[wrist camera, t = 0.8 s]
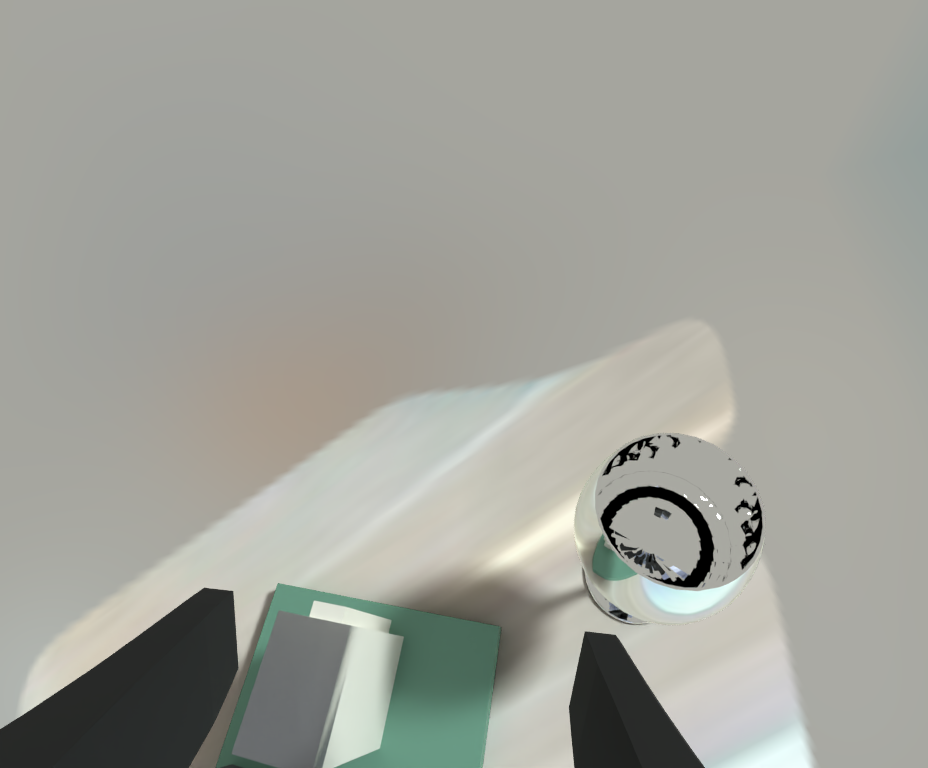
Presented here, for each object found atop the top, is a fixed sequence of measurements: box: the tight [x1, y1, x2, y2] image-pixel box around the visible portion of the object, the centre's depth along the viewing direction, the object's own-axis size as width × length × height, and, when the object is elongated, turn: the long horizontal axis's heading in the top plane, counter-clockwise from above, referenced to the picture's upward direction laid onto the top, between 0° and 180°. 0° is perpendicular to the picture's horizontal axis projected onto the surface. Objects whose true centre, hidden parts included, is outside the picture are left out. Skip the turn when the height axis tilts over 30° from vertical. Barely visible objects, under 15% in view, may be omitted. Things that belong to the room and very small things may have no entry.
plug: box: [232, 601, 404, 768], centre depth 21 cm, size 5×3×7 cm, turn 169°
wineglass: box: [574, 433, 766, 625], centre depth 19 cm, size 6×6×12 cm
